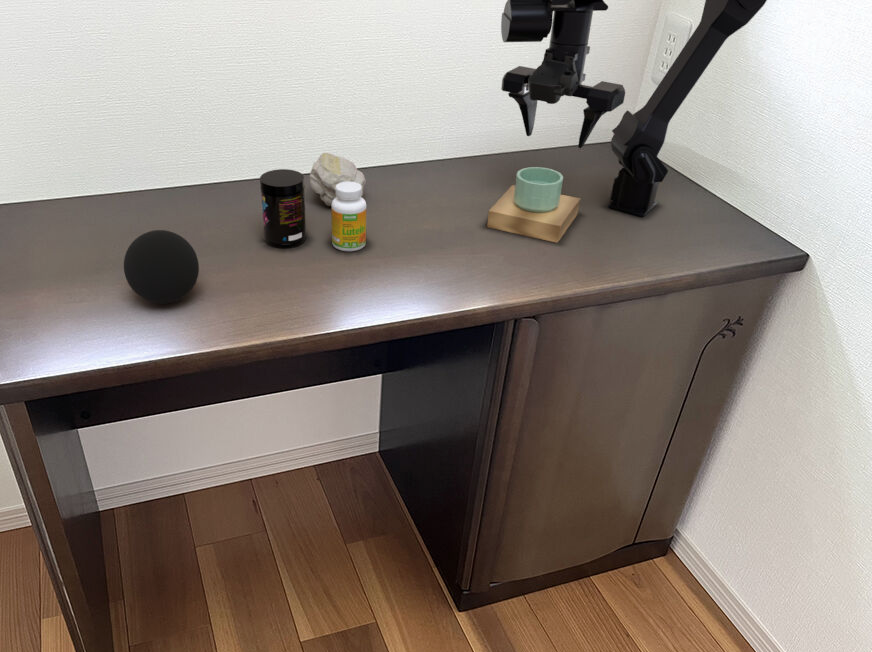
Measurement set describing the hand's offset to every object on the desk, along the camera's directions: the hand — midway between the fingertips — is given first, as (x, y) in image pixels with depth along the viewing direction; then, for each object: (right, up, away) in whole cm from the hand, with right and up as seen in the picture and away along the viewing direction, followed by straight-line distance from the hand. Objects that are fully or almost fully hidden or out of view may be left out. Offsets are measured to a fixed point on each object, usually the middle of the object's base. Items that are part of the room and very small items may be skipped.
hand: (554, 141), depth 131 cm
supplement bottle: (-34, -18, -5) cm, 38 cm away
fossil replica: (-36, -8, +9) cm, 38 cm away
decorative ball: (-59, -28, -18) cm, 68 cm away
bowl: (-3, -10, +1) cm, 11 cm away
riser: (-3, -13, +3) cm, 13 cm away
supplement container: (-44, -17, -3) cm, 47 cm away
